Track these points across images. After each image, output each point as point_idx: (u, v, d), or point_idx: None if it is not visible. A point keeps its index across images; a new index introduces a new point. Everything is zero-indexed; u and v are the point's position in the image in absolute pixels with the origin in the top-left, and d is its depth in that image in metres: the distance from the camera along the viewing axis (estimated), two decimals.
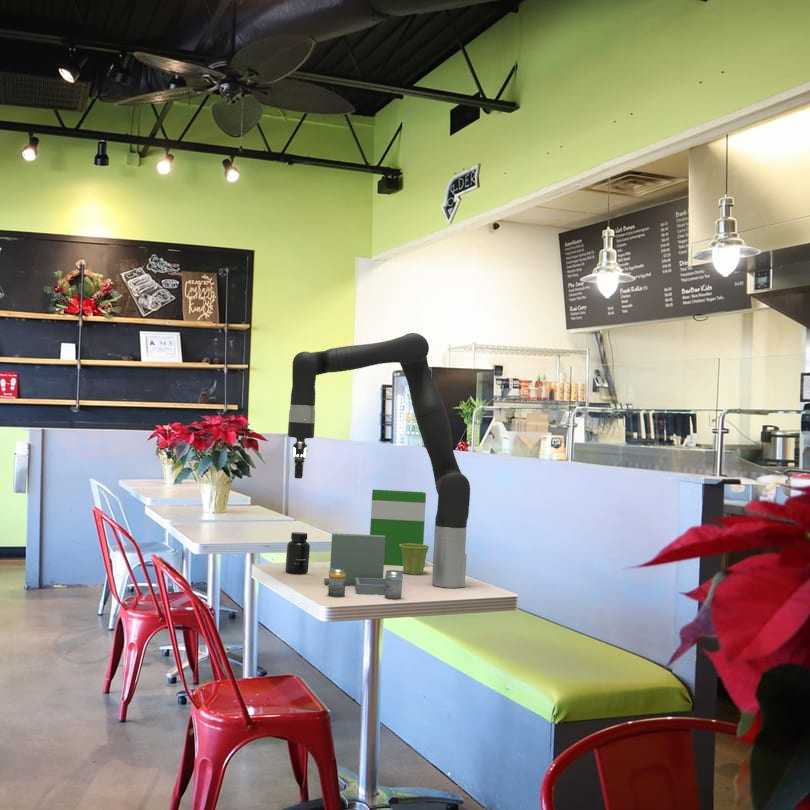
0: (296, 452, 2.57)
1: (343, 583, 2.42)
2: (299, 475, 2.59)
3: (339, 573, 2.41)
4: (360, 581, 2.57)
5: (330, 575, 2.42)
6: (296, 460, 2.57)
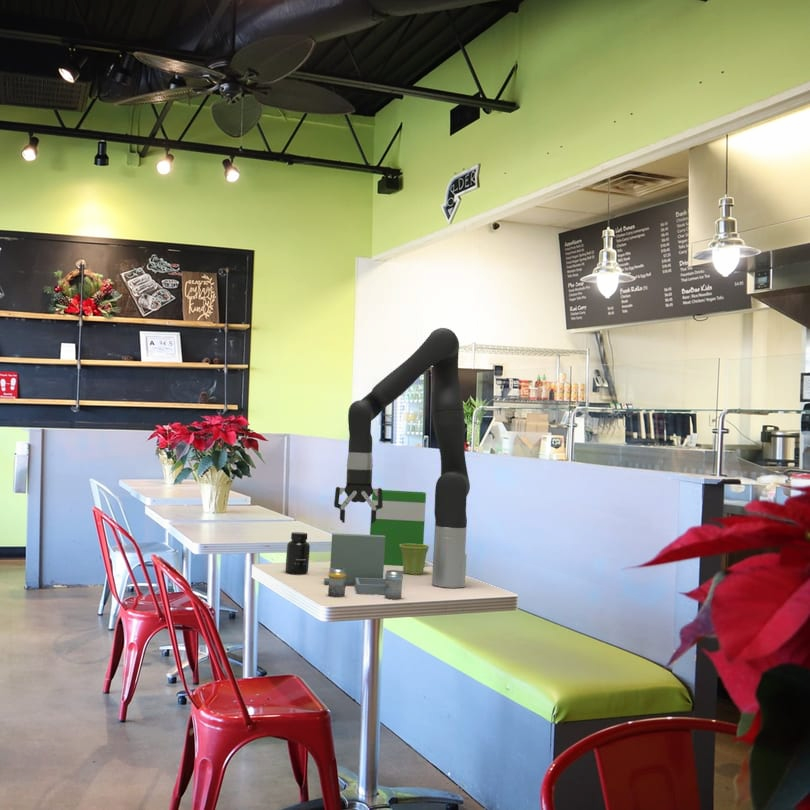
0: None
1: (343, 583, 2.42)
2: None
3: (339, 573, 2.41)
4: (360, 581, 2.57)
5: (330, 575, 2.42)
6: None
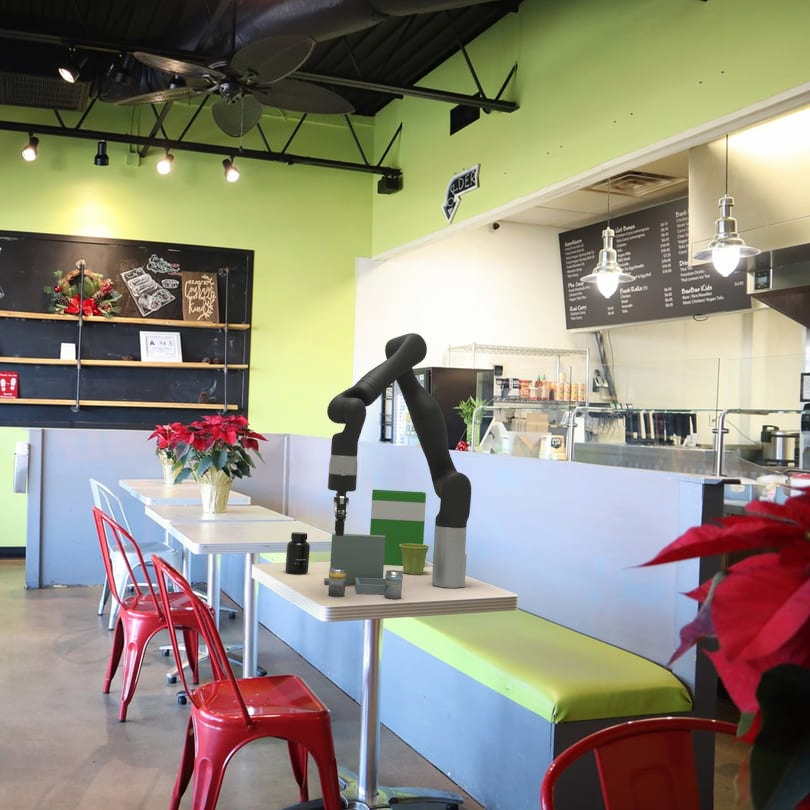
0: None
1: (343, 583, 2.42)
2: None
3: (339, 573, 2.41)
4: (360, 581, 2.57)
5: (330, 575, 2.42)
6: None
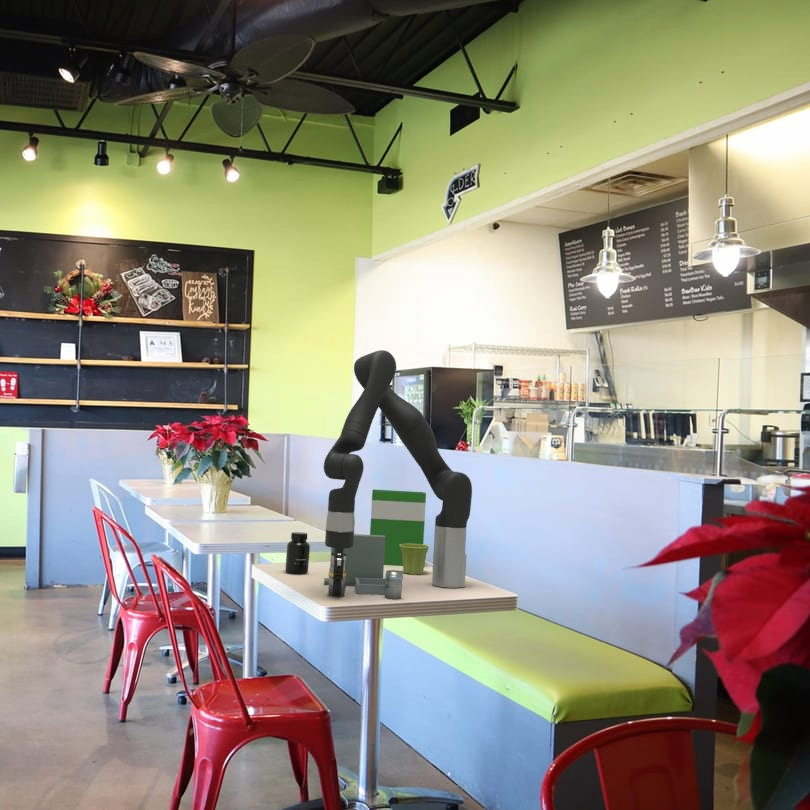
0: None
1: (343, 583, 2.42)
2: None
3: (339, 573, 2.41)
4: (360, 581, 2.57)
5: (330, 575, 2.42)
6: None
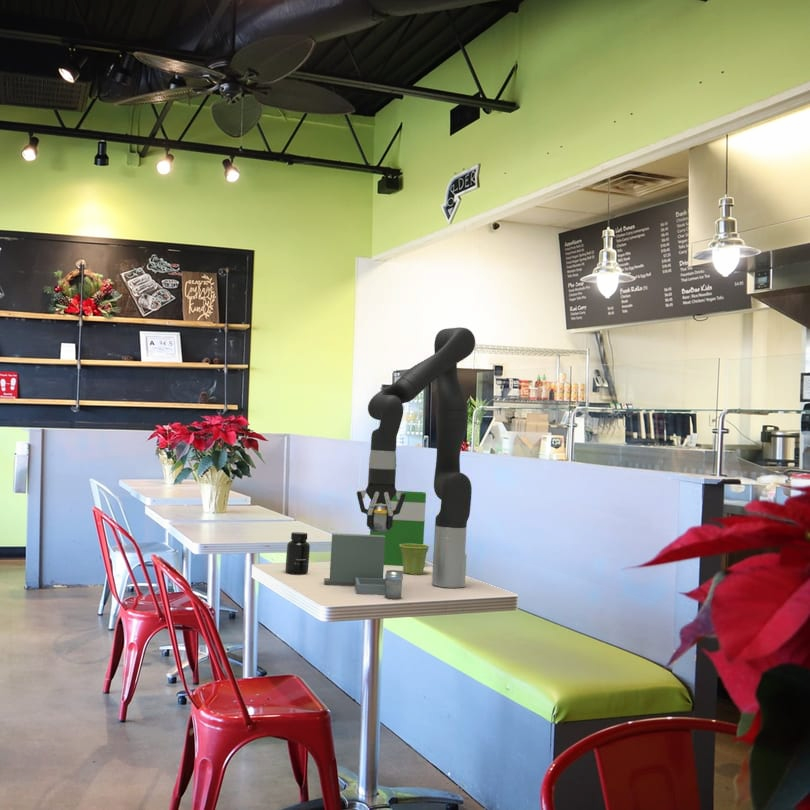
0: None
1: (375, 518, 2.52)
2: (391, 526, 2.54)
3: None
4: (360, 581, 2.57)
5: None
6: None
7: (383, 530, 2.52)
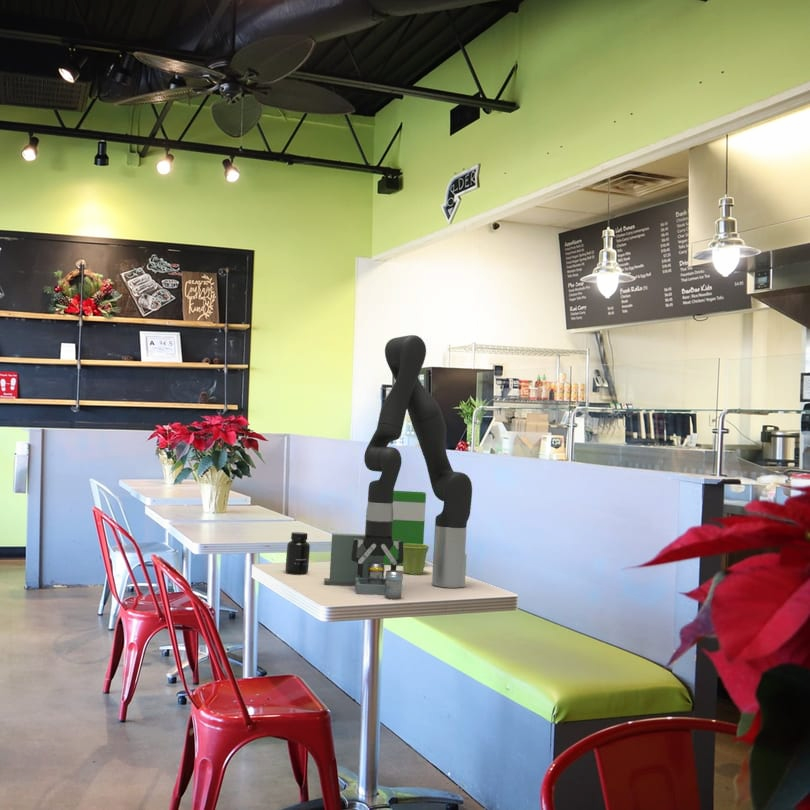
0: None
1: (371, 576, 2.51)
2: None
3: (368, 565, 2.52)
4: (360, 581, 2.57)
5: None
6: None
7: None
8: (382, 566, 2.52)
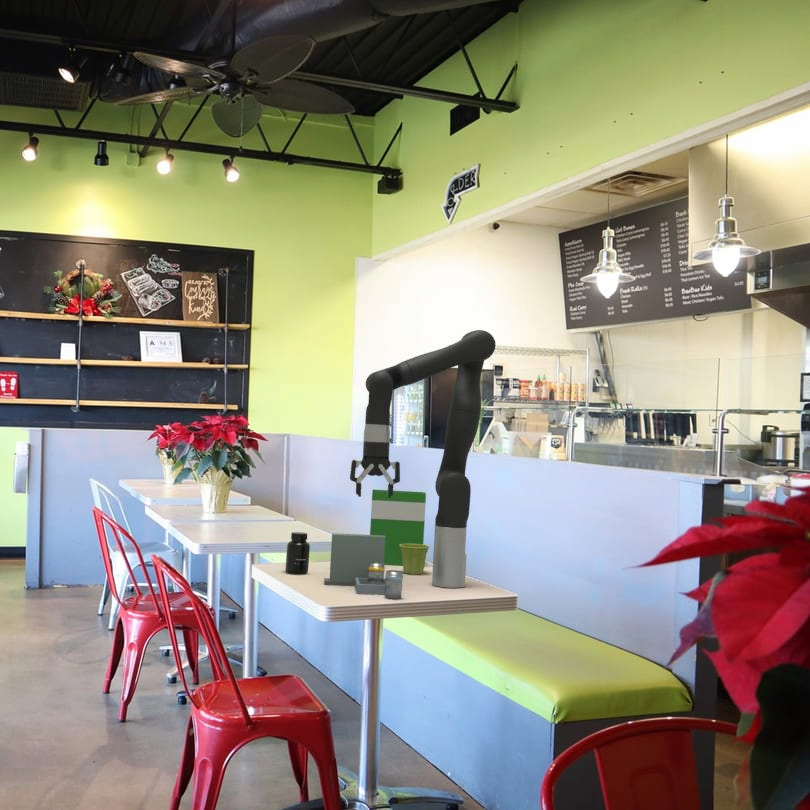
0: None
1: (371, 576, 2.51)
2: None
3: (368, 565, 2.52)
4: (360, 581, 2.57)
5: None
6: None
7: None
8: (382, 566, 2.52)
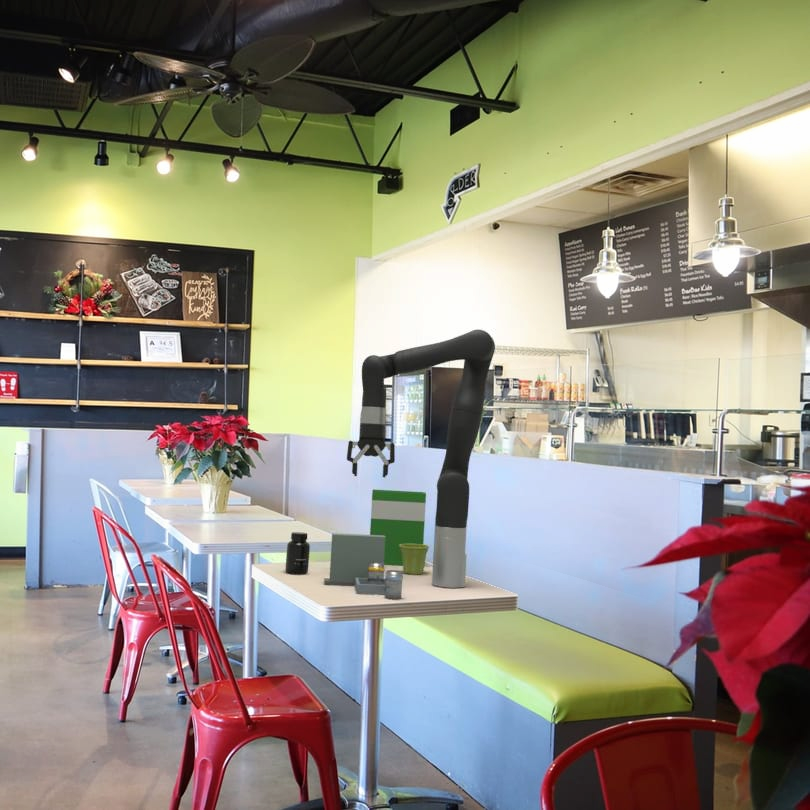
0: (394, 453, 2.74)
1: (371, 576, 2.51)
2: None
3: (368, 565, 2.52)
4: (360, 581, 2.57)
5: None
6: None
7: None
8: (382, 566, 2.52)
